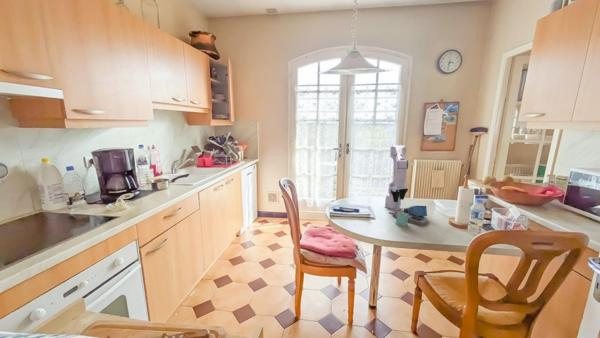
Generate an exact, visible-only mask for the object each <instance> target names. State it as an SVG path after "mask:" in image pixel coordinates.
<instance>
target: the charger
mask: <svg viewBox="0 0 600 338" xmlns="http://www.w3.org/2000/svg"><path fill="white" fill-rule="evenodd" d="M403 212H404V211H401V212H398V213H397V217H395V218H396V219H395V220H396V221H395V225H398V226H400V227H404V228H406V226H408V223H409V222H408V215H409V214H407V213H403Z"/></svg>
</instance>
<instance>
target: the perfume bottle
mask: <svg viewBox="0 0 600 338" xmlns="http://www.w3.org/2000/svg"><path fill="white" fill-rule="evenodd" d="M427 211H428V210H427V205H412V206H409V207H405V208H403V212H404V213H407V214H411V215H414V216H418V217H428V214H427V213H428V212H427Z"/></svg>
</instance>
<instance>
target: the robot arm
mask: <svg viewBox="0 0 600 338" xmlns="http://www.w3.org/2000/svg"><path fill="white" fill-rule="evenodd" d="M389 153H390V154H389V155H390V158H391V159H392V160H393V168H392V169H393V172H392V173H393V174H392V175H393V176H392V181H391V182H389V184H388V187H387V188H388V190H387V191H388V192H387V193H388V194H386V196H385V204H384V208H385V209H386V208H387V209H391V210H394V211H400V210H401V209H404V208H403V206H402V205H401V204H402V200H404V199H405V196H406V194H407V192H408V191H409V188H408V184H406V182H407V181H406V179H407V170H408V169H409V159H407V158H406V153H407V146H406V144H405V145H404V144H403V145H402V144H391V145H390V150H389Z"/></svg>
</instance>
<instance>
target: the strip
mask: <svg viewBox="0 0 600 338" xmlns="http://www.w3.org/2000/svg"><path fill="white" fill-rule="evenodd" d="M398 212H403V213H404V211H401V210H394V212H390V211H389V212H388V214H389V215H392V217H394V218H396V217H397V213H398ZM408 223H412V224H414V225H416V226H420V227H424V226H425V225H427V224H428V223H429V222H428V219H427V218H423V217H422V216H414V215H411V214H409V215H408Z"/></svg>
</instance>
